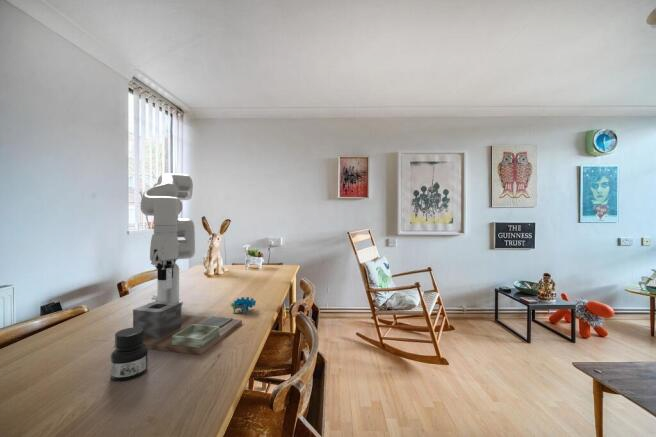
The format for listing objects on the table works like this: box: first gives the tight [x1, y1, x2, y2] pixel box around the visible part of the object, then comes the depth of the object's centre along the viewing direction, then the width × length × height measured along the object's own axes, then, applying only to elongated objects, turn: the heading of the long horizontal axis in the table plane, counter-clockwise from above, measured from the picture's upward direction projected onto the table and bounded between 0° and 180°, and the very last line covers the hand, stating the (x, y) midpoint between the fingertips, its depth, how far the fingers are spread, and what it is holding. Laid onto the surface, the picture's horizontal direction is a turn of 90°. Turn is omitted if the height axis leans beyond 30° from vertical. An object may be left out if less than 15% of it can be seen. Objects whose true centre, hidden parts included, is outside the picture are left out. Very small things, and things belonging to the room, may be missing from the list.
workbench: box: [132, 300, 243, 356], centre depth 115 cm, size 33×28×11 cm
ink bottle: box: [110, 326, 149, 381], centre depth 87 cm, size 10×9×12 cm
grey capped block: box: [159, 264, 174, 290], centre depth 113 cm, size 6×3×9 cm, turn 80°
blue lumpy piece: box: [230, 296, 257, 314], centre depth 139 cm, size 11×6×10 cm
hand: (165, 278), depth 113 cm, fingers closed on grey capped block, 3 cm apart
